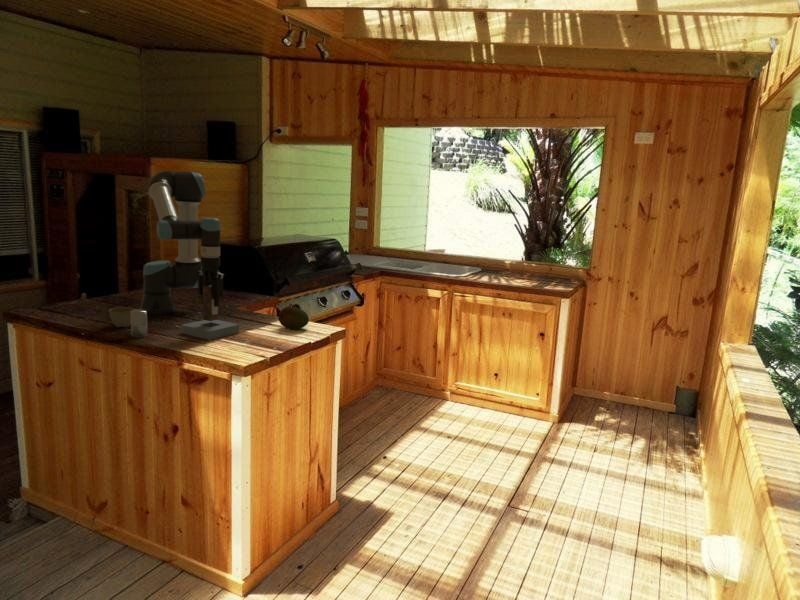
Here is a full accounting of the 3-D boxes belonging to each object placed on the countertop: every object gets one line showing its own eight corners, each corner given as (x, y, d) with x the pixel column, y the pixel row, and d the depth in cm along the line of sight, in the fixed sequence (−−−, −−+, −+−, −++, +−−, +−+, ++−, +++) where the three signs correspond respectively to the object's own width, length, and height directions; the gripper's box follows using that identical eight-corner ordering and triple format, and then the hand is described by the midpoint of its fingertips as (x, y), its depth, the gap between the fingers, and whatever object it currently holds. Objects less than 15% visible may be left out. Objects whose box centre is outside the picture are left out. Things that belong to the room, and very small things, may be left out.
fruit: (274, 327, 265) (275, 304, 263) (300, 324, 273) (300, 302, 271) (286, 333, 256) (287, 310, 254) (312, 330, 264) (313, 307, 262)
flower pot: (141, 325, 255) (140, 308, 253) (123, 330, 245) (122, 313, 244) (122, 322, 258) (121, 306, 256) (103, 327, 248) (103, 310, 247)
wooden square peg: (203, 319, 247) (203, 285, 245) (210, 318, 251) (210, 284, 248) (210, 321, 245) (210, 287, 243) (217, 319, 249) (217, 286, 246)
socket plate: (181, 333, 246) (181, 324, 245) (211, 326, 260) (211, 318, 259) (209, 340, 238) (209, 331, 238) (238, 332, 252) (238, 324, 252)
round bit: (127, 335, 238) (127, 310, 236) (140, 332, 243) (140, 308, 241) (137, 338, 235) (137, 313, 233) (150, 335, 240) (150, 310, 238)
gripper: (188, 255, 244) (188, 311, 248) (218, 259, 236) (218, 317, 240) (202, 253, 250) (202, 309, 255) (232, 258, 242) (232, 315, 247)
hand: (210, 313), depth 247 cm, fingers closed on wooden square peg, 4 cm apart
